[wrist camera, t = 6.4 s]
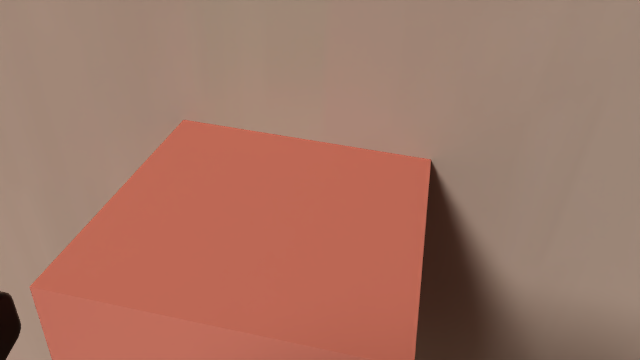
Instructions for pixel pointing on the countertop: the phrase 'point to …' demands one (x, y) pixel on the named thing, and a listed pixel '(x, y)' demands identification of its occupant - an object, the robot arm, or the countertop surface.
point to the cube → (245, 255)
